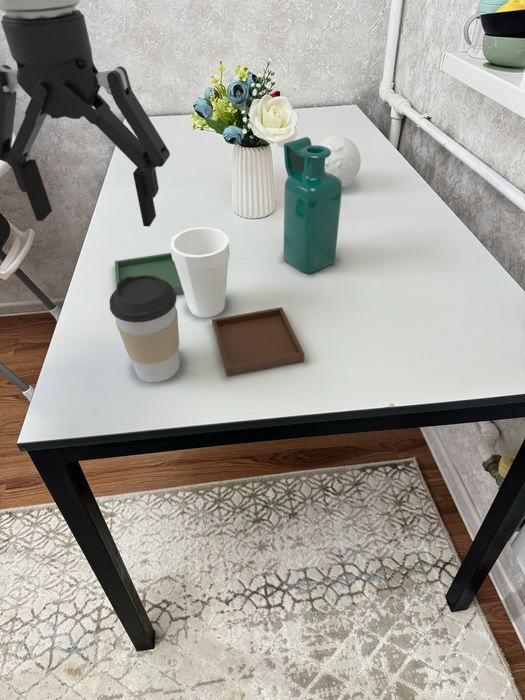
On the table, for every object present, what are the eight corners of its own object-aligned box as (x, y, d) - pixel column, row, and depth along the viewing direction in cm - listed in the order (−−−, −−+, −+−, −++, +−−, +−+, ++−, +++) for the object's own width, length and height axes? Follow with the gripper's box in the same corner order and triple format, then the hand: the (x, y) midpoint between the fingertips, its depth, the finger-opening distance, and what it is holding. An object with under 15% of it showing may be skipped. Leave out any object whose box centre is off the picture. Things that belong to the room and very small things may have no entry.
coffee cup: (198, 359, 77) (187, 280, 67) (160, 396, 71) (141, 315, 61) (155, 339, 80) (138, 261, 70) (115, 373, 75) (91, 293, 65)
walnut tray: (227, 376, 74) (226, 368, 73) (212, 327, 83) (211, 319, 81) (303, 361, 76) (304, 353, 75) (281, 314, 85) (281, 307, 84)
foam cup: (238, 293, 90) (234, 229, 81) (228, 325, 83) (222, 259, 74) (187, 289, 91) (178, 225, 82) (173, 320, 84) (162, 254, 75)
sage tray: (119, 304, 88) (117, 296, 87) (116, 268, 96) (114, 260, 95) (186, 293, 90) (185, 285, 89) (178, 259, 99) (177, 251, 97)
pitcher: (339, 262, 97) (351, 149, 82) (307, 277, 93) (313, 161, 78) (306, 242, 103) (312, 133, 88) (275, 255, 99) (275, 144, 84)
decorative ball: (305, 194, 119) (308, 144, 111) (313, 175, 128) (316, 127, 120) (355, 199, 117) (361, 148, 109) (359, 178, 126) (365, 130, 117)
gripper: (180, 4, 47) (202, 208, 62) (-57, 4, 50) (16, 200, 64) (158, 18, 42) (187, 239, 56) (-107, 17, 45) (-15, 228, 59)
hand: (96, 218), depth 60 cm, fingers open, 13 cm apart
